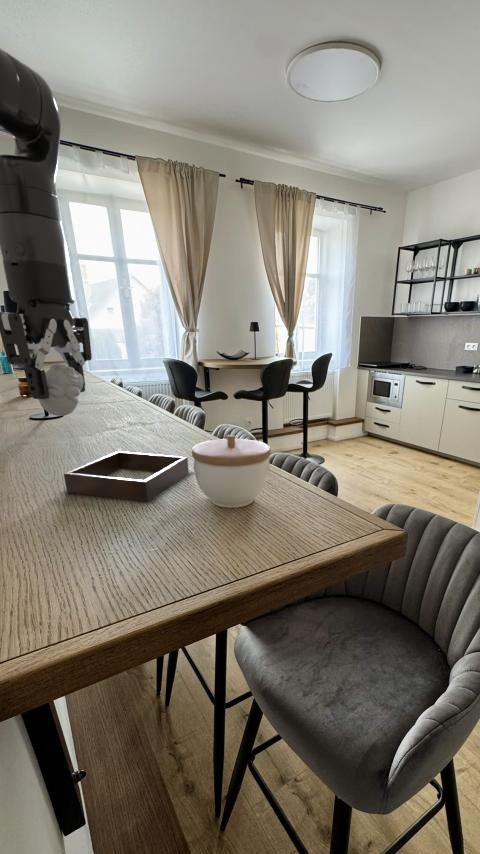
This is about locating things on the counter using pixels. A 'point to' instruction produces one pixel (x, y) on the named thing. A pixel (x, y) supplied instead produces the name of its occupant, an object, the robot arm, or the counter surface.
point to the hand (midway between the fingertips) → (60, 394)
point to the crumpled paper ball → (62, 390)
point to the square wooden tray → (98, 484)
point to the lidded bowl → (231, 470)
